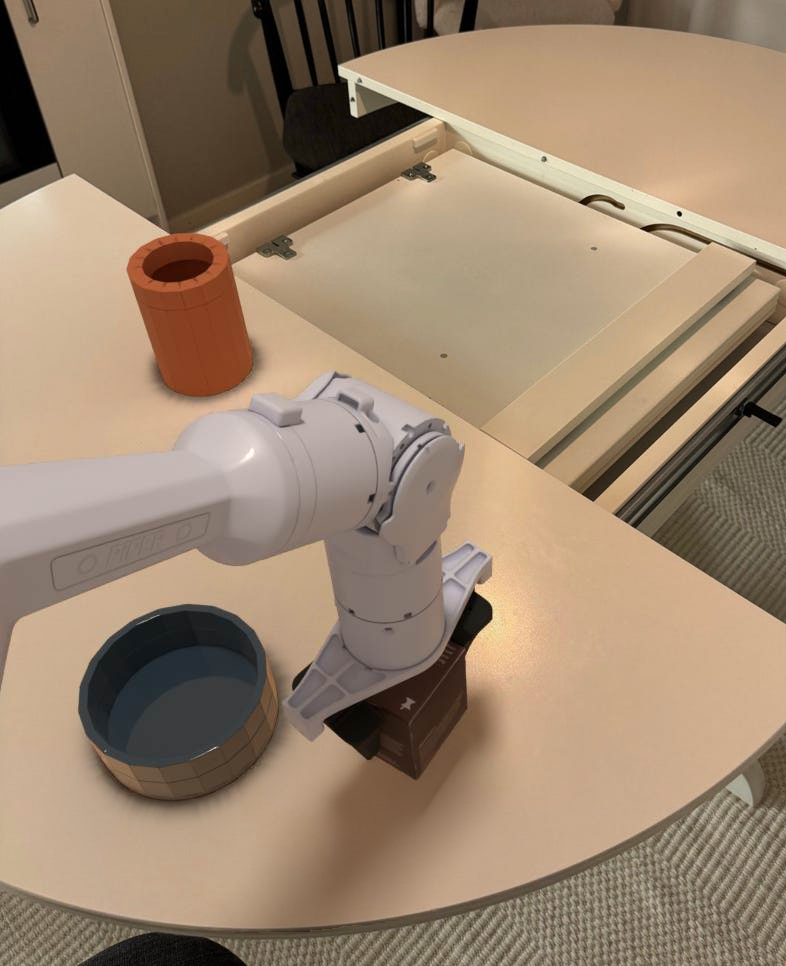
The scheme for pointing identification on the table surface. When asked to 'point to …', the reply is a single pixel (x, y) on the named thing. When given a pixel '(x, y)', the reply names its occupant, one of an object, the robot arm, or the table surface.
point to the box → (422, 712)
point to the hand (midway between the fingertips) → (403, 707)
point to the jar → (192, 312)
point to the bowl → (179, 701)
